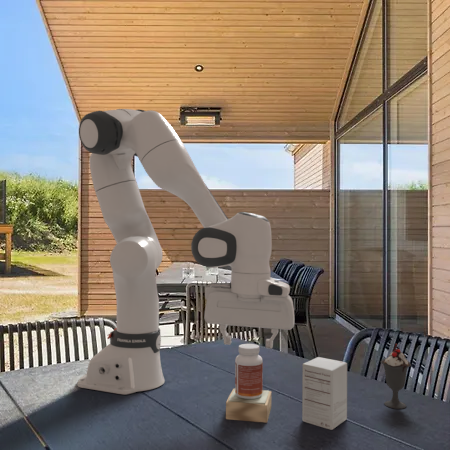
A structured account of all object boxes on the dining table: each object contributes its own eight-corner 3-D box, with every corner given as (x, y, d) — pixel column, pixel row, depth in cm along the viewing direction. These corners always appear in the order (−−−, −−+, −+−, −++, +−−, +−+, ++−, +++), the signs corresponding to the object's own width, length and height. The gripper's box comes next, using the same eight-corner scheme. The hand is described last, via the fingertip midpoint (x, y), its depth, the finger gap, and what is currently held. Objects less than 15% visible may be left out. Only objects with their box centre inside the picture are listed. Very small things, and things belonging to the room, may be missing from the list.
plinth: (225, 419, 108) (226, 400, 108) (233, 404, 117) (233, 387, 117) (267, 422, 106) (267, 404, 106) (271, 407, 115) (271, 390, 115)
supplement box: (317, 411, 113) (318, 356, 113) (347, 420, 108) (348, 362, 108) (300, 421, 107) (301, 363, 107) (332, 430, 102) (332, 369, 102)
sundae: (391, 411, 113) (392, 346, 113) (375, 401, 119) (375, 339, 119) (416, 409, 115) (417, 344, 114) (398, 399, 121) (399, 337, 121)
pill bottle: (268, 396, 111) (268, 347, 111) (245, 402, 107) (246, 350, 107) (251, 388, 116) (252, 341, 116) (229, 393, 112) (230, 344, 112)
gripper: (202, 283, 110) (199, 345, 111) (294, 289, 107) (292, 353, 107) (208, 280, 117) (206, 338, 117) (296, 285, 113) (293, 346, 113)
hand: (248, 345), depth 112 cm, fingers open, 8 cm apart
